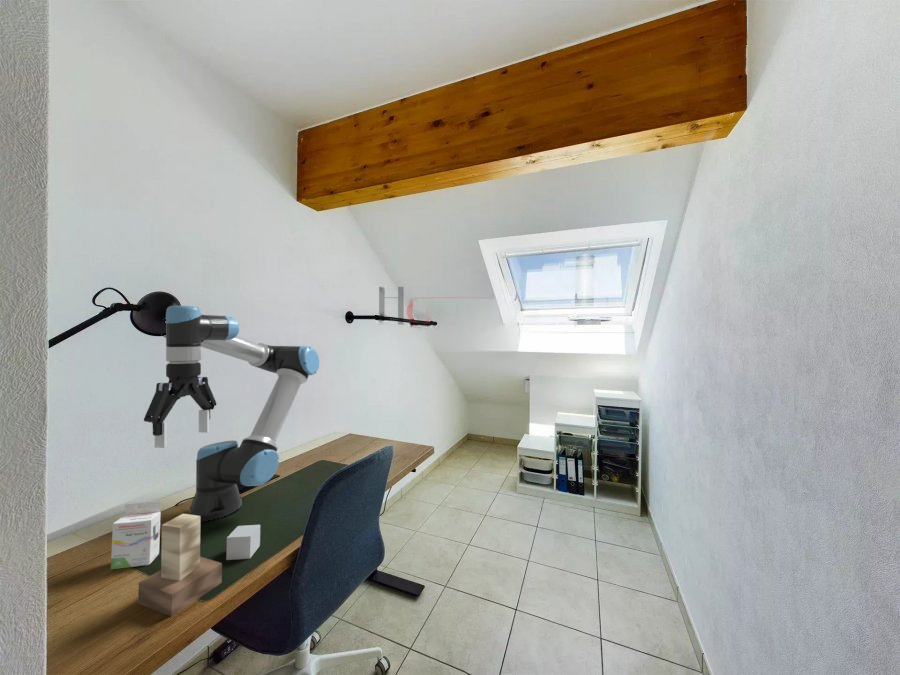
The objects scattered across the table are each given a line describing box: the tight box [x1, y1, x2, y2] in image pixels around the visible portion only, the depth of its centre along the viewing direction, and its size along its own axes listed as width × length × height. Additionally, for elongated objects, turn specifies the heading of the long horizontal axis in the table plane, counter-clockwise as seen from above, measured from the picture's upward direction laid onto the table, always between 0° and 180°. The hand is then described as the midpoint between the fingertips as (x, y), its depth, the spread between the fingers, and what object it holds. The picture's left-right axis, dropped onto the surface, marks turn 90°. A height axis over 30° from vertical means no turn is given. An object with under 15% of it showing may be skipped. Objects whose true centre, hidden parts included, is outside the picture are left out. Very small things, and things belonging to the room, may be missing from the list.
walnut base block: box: [137, 556, 223, 617], centre depth 78 cm, size 11×11×5 cm
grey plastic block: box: [225, 524, 261, 561], centre depth 94 cm, size 6×6×6 cm
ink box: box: [110, 500, 162, 570], centre depth 90 cm, size 9×5×15 cm, turn 105°
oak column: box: [160, 513, 201, 581], centre depth 79 cm, size 5×5×12 cm
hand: (184, 439), depth 93 cm, fingers open, 13 cm apart
